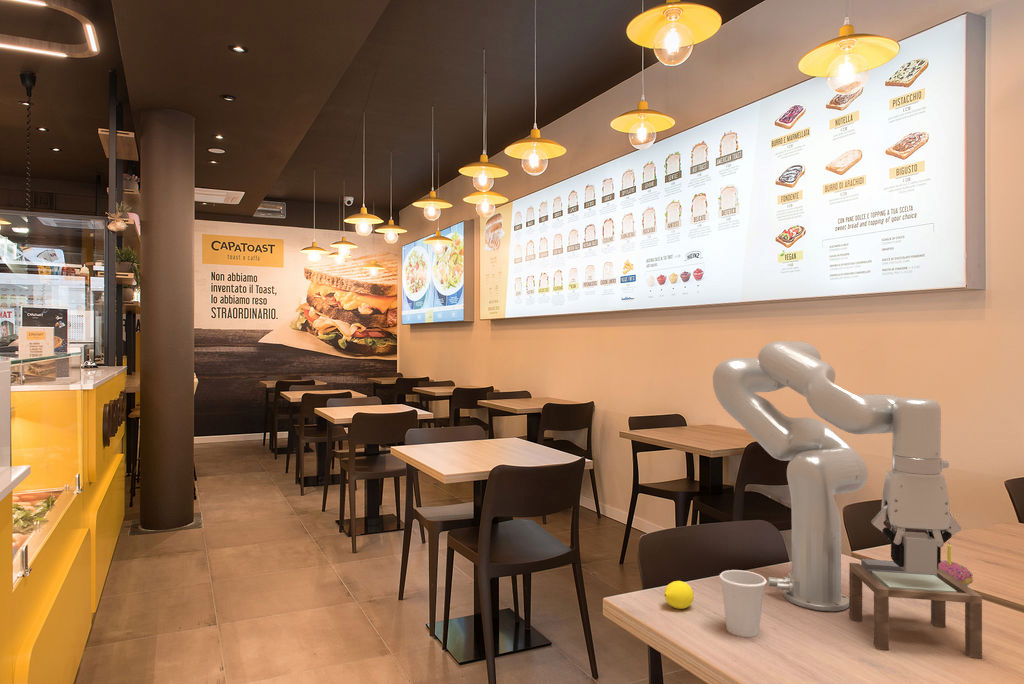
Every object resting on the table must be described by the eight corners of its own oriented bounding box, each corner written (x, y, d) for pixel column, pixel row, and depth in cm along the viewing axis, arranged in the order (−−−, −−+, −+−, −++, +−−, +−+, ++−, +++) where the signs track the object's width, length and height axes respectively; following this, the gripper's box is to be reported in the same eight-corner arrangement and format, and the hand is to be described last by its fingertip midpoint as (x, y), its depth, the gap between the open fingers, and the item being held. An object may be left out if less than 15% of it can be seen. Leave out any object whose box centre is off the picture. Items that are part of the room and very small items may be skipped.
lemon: (681, 603, 136) (684, 577, 136) (699, 612, 131) (702, 585, 132) (655, 603, 133) (658, 577, 134) (672, 613, 128) (675, 585, 129)
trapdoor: (886, 601, 116) (886, 583, 116) (858, 574, 130) (858, 558, 130) (960, 606, 114) (960, 588, 114) (923, 579, 128) (923, 562, 128)
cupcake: (974, 605, 136) (974, 547, 136) (926, 596, 140) (926, 541, 140) (971, 592, 143) (971, 538, 143) (925, 585, 147) (925, 532, 148)
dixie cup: (709, 625, 124) (710, 572, 124) (743, 618, 127) (744, 567, 127) (741, 643, 116) (741, 587, 116) (776, 636, 119) (776, 581, 120)
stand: (877, 649, 114) (877, 589, 114) (849, 616, 129) (849, 562, 129) (982, 658, 111) (982, 596, 111) (941, 623, 126) (941, 568, 126)
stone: (895, 563, 121) (895, 531, 121) (924, 565, 120) (924, 532, 120) (906, 572, 116) (906, 538, 116) (937, 574, 115) (937, 540, 115)
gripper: (957, 464, 121) (956, 562, 120) (858, 460, 124) (857, 556, 123) (978, 471, 113) (978, 576, 113) (873, 467, 116) (872, 569, 116)
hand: (915, 564), depth 118 cm, fingers closed on stone, 5 cm apart
